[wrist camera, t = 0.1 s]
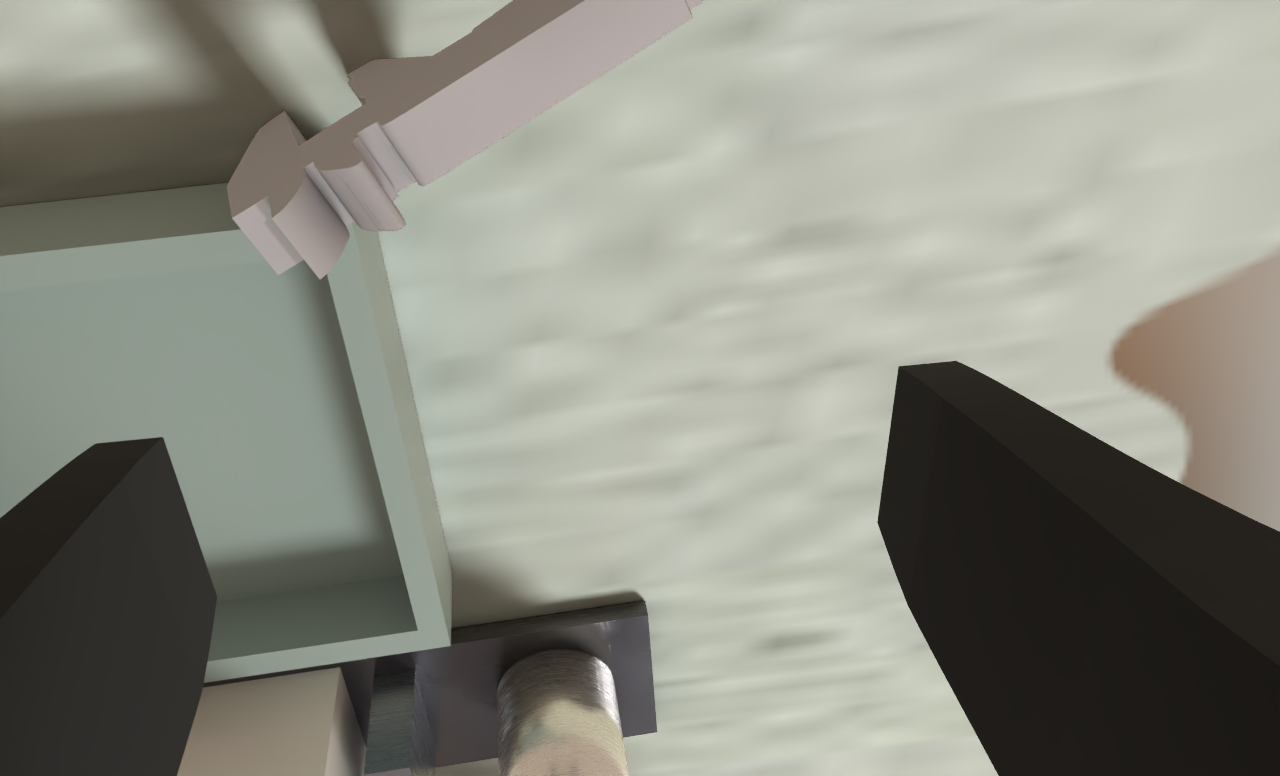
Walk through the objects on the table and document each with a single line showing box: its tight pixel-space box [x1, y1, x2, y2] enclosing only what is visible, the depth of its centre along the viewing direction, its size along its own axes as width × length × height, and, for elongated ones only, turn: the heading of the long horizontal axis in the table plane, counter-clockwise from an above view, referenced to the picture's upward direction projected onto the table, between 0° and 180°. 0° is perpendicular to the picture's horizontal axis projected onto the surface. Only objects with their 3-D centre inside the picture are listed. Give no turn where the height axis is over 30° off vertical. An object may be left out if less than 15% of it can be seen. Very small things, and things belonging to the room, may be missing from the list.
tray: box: [0, 183, 452, 683], centre depth 20 cm, size 10×10×2 cm
